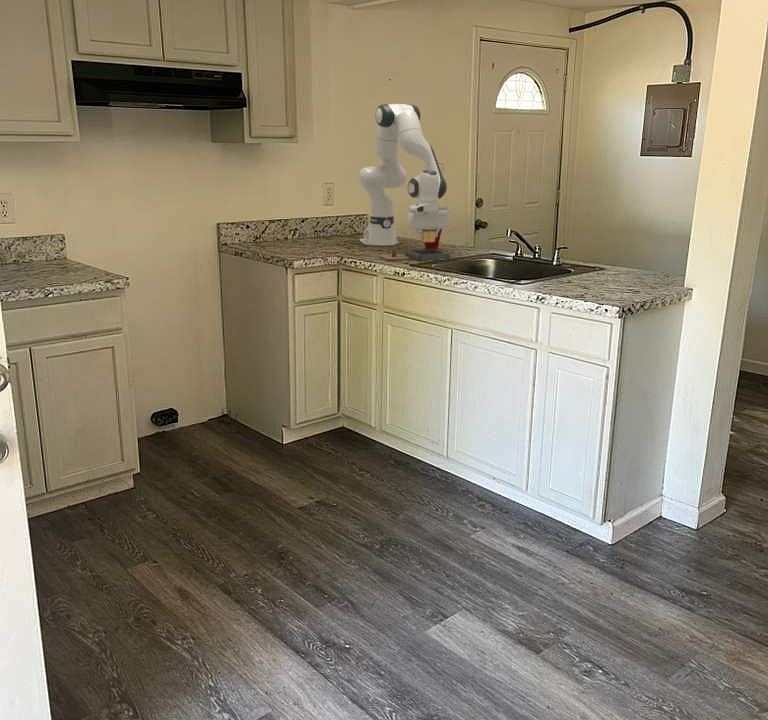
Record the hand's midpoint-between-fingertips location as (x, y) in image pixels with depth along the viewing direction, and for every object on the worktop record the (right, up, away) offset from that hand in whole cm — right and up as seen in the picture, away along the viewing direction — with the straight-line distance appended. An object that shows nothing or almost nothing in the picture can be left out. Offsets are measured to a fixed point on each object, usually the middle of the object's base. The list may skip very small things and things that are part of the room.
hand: (427, 237), depth 349 cm
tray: (0, -9, +3) cm, 10 cm away
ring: (0, -2, 0) cm, 2 cm away
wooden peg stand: (-16, -10, +1) cm, 18 cm away
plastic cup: (+3, -3, +24) cm, 25 cm away
